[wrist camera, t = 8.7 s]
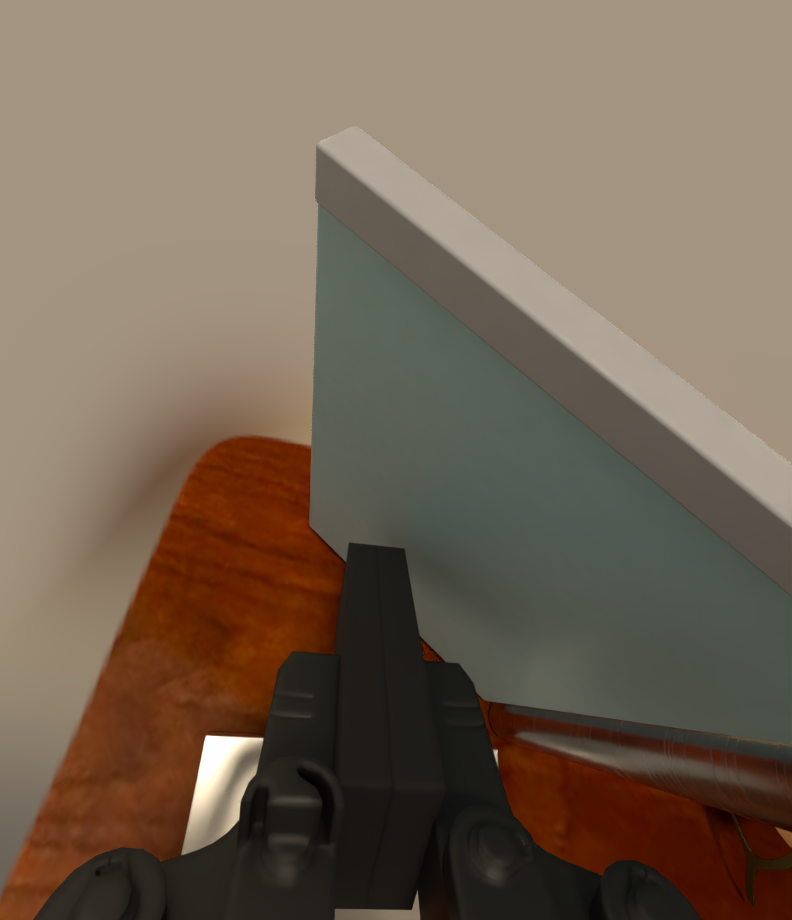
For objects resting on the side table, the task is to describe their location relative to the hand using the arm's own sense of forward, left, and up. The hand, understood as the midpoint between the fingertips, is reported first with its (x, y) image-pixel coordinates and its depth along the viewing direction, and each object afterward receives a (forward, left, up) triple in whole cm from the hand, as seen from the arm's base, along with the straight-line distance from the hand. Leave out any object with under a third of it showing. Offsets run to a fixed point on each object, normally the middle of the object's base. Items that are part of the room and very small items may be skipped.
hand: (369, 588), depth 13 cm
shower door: (+3, +1, -7) cm, 7 cm away
